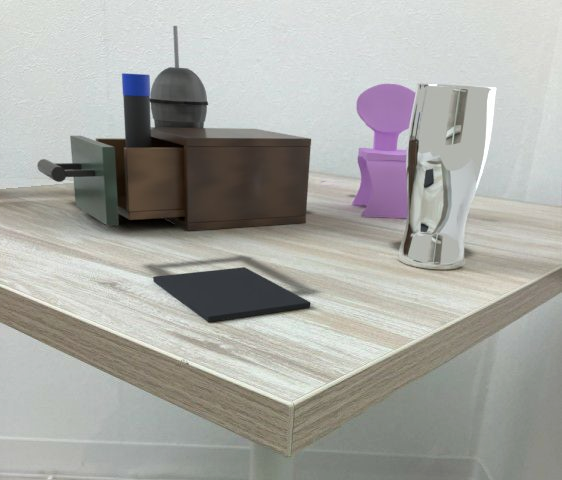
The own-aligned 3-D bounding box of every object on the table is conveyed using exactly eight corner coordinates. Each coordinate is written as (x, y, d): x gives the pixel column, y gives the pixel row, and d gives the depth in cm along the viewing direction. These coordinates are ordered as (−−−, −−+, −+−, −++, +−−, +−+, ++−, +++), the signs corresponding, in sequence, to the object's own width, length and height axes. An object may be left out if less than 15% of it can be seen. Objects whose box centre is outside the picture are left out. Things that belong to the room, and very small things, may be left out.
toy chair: (354, 216, 79) (367, 82, 72) (344, 204, 87) (355, 81, 80) (421, 219, 79) (439, 86, 73) (404, 206, 87) (420, 85, 81)
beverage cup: (159, 202, 80) (155, 21, 72) (146, 193, 86) (140, 24, 78) (215, 201, 83) (216, 26, 75) (198, 192, 89) (198, 29, 81)
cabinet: (187, 231, 67) (186, 137, 63) (144, 209, 76) (141, 127, 72) (305, 222, 74) (311, 138, 70) (252, 203, 83) (255, 128, 80)
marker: (124, 200, 70) (118, 73, 64) (148, 199, 71) (144, 74, 66) (132, 204, 68) (127, 73, 62) (157, 203, 69) (153, 75, 64)
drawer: (62, 228, 61) (55, 147, 58) (36, 207, 69) (28, 135, 66) (230, 218, 69) (232, 146, 66) (188, 200, 78) (187, 136, 75)
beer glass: (467, 256, 63) (496, 87, 56) (469, 274, 56) (502, 87, 50) (395, 249, 64) (415, 83, 58) (389, 266, 58) (412, 82, 51)
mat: (153, 281, 50) (153, 276, 50) (244, 271, 54) (244, 267, 53) (208, 322, 42) (208, 316, 42) (310, 307, 46) (310, 302, 46)
